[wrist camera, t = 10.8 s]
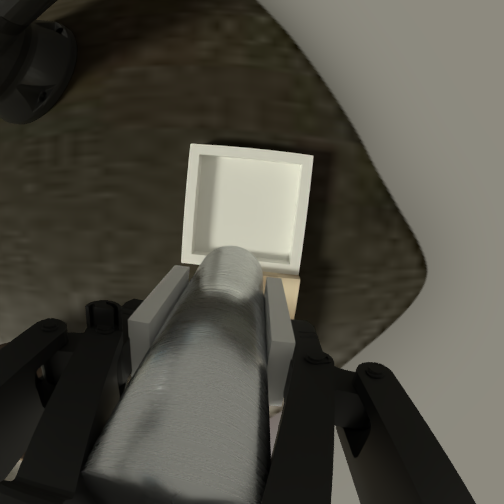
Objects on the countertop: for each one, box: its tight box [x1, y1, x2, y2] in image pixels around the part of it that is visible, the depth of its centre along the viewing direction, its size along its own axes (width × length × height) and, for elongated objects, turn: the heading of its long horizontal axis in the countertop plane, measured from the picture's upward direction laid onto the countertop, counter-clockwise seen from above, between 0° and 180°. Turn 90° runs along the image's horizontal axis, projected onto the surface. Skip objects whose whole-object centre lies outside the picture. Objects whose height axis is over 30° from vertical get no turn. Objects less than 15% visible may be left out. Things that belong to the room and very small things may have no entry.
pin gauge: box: [81, 246, 271, 504], centre depth 12 cm, size 4×4×16 cm
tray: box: [181, 144, 313, 275], centre depth 32 cm, size 12×12×2 cm
